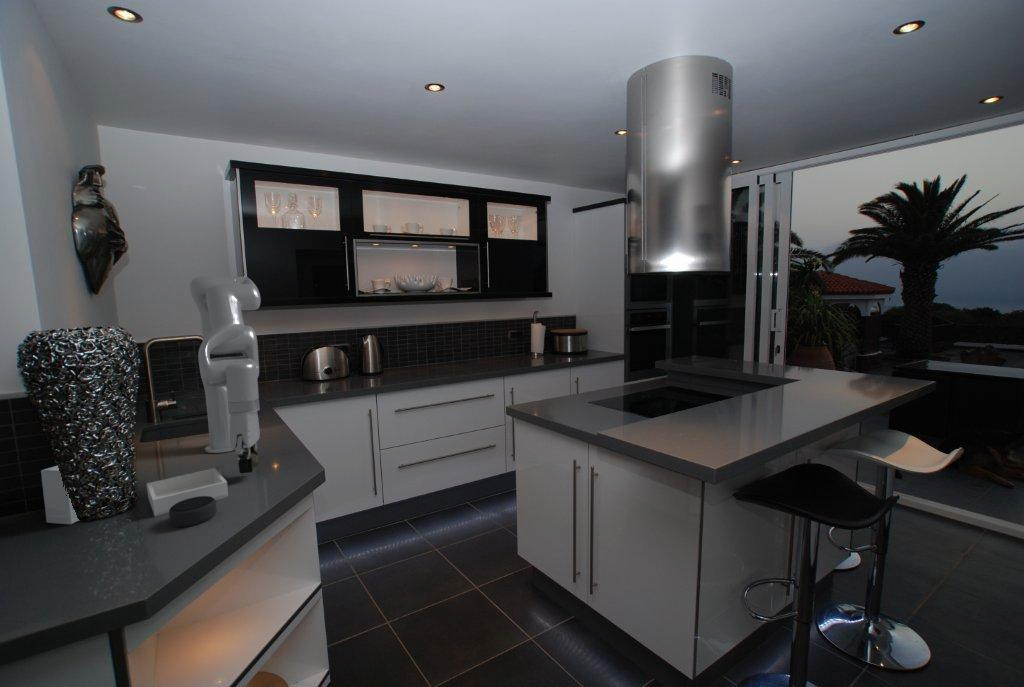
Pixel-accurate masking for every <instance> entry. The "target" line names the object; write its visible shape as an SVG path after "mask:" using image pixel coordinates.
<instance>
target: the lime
mask: <svg viewBox="0 0 1024 687" xmlns="http://www.w3.org/2000/svg"><path fill="white" fill-rule="evenodd" d="M250 458H252V467H253V471H254V470H256V468H258V466H259V464H260V458H259V455H258V456H256V455H255V454H253V453H250ZM237 463H238V464H237V465H239V461H238V462H237Z"/></svg>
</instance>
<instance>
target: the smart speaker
mask: <svg viewBox="0 0 1024 687" xmlns="http://www.w3.org/2000/svg"><path fill="white" fill-rule="evenodd" d="M217 508H218V507H217V500H215V499H214V498H213V497H210V496H199V497H193V498H189V499H186V500H183V501H180V502H178V503H176V504H175V505H173V506H172V507H171V508H170V510H169V513H168V516H169V523H170V525H172V526H174V527H178V528H185V527H191V526H195V525H196V526H197V525H198V524H202V523H204V522H208V521H209V520H210V519H211V518H213V517H214V516H215V515H216V514H217V511H218V510H217Z"/></svg>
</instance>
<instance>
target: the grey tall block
mask: <svg viewBox="0 0 1024 687" xmlns="http://www.w3.org/2000/svg"><path fill="white" fill-rule="evenodd" d="M40 473H41V475H40V476H41V483H42V491H43V492H42V493H43V500H44V508H45V518H46V520H45V521H46V523H49V524H59V525H72V524H75V523H77V522H79V521H80V520H79V519H78V518H77V515H76V512H75V510H74V508H73V506H72V503H71V499H70V498H69V494H67V493H68V492H67V488H66V491H65V485H64V487H63V481H62V477H61V473H60V471H59V468H58V465H55V466H52V467H48V468H45V469H42V470H40ZM66 495H67V496H66Z"/></svg>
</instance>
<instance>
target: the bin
mask: <svg viewBox="0 0 1024 687" xmlns="http://www.w3.org/2000/svg"><path fill="white" fill-rule="evenodd" d="M228 488H229V487H228V481H227V480H226V479H225V478H224V477H223V475H222V474H221V473H220V471H218V470H217V469H216V467H212V468H209V469H205V470H200V471H196V472H192V473H191V472H190V473H186V474H183V475H177V476H174V477H173V476H172V477H169V478H165V479H161V480H155V481H152V482H147V483H146V490H147V498H148V501H149V504H150V507H151V511H152V514H153V516H154V517H159V516H162V515H166V514H169V510H170V508H171V507H172V506H173V505H175V504H176V503H178V502H180V501H183V500H186V499H189V498H193V497H199V496H210V497H213V498H214V499H215V500H216V501H219V500H222V499H223V500H224V499H226V498H229V489H228Z"/></svg>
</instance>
